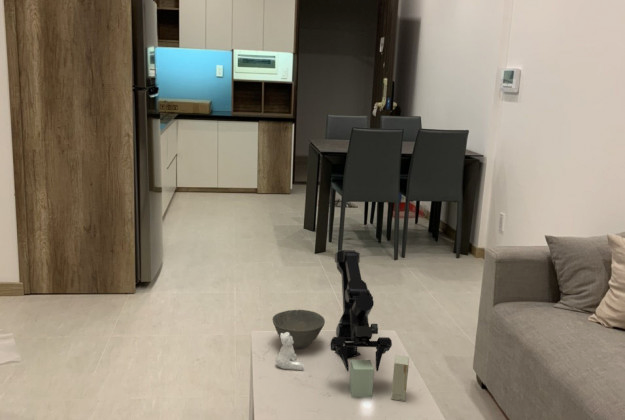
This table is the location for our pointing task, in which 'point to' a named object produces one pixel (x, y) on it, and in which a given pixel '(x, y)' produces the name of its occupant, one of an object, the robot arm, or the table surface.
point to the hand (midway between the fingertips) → (362, 371)
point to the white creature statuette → (288, 354)
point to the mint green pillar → (361, 378)
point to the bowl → (299, 326)
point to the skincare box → (400, 377)
